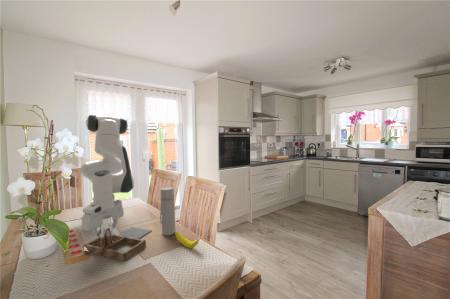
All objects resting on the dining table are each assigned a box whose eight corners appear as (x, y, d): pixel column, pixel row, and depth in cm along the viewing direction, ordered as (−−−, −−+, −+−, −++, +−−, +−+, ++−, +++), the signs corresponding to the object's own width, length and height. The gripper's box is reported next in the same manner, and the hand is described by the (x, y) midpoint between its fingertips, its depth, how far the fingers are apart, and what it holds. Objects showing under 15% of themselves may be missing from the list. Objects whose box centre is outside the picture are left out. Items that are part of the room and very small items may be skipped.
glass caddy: (84, 251, 100) (83, 245, 100) (107, 238, 112) (107, 233, 112) (124, 260, 91) (124, 254, 91) (145, 246, 103) (145, 240, 103)
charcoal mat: (115, 237, 114) (115, 236, 113) (132, 228, 125) (132, 227, 125) (135, 241, 109) (135, 240, 109) (151, 231, 120) (151, 230, 120)
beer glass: (102, 243, 107) (100, 214, 106) (116, 242, 107) (115, 213, 107) (95, 250, 100) (93, 219, 99) (110, 249, 101) (108, 219, 100)
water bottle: (178, 231, 119) (177, 187, 118) (169, 237, 112) (167, 190, 110) (165, 228, 123) (164, 186, 121) (156, 234, 116) (154, 189, 114)
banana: (177, 239, 110) (177, 227, 110) (201, 251, 97) (201, 238, 97) (172, 241, 108) (172, 228, 108) (196, 254, 95) (196, 240, 95)
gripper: (116, 198, 113) (118, 223, 114) (78, 210, 94) (80, 240, 95) (125, 198, 111) (127, 224, 112) (89, 212, 92) (90, 242, 93)
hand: (105, 232), depth 103 cm, fingers open, 8 cm apart
